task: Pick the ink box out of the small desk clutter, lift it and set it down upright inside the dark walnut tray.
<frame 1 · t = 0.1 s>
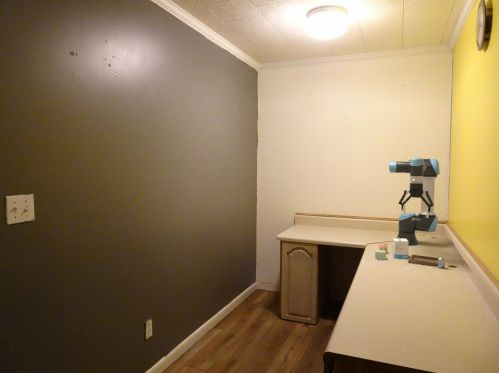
hand: (415, 216, 226), 28 cm above the worktop, fingers open, 13 cm apart
sage block: (380, 258, 231), on the worktop
terracotta cup: (383, 252, 246), on the worktop
tray: (424, 262, 223), on the worktop
ink box: (400, 257, 235), on the worktop
grey peg: (441, 267, 210), on the worktop
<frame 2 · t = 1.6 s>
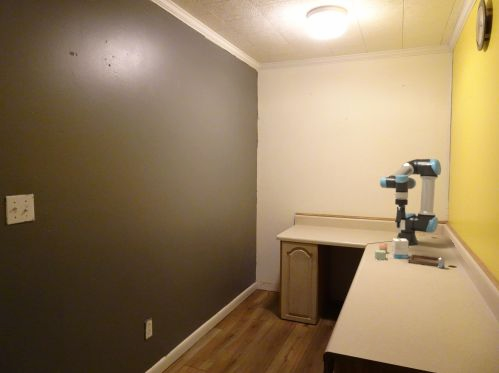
hand: (400, 231, 234), 17 cm above the worktop, fingers open, 13 cm apart
nothing on the worktop moved.
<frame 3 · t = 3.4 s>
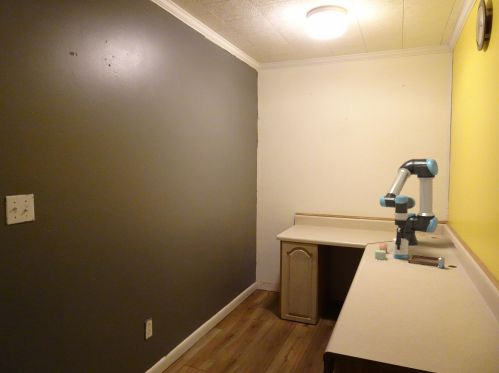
hand: (400, 252, 235), 3 cm above the worktop, fingers closed on ink box, 10 cm apart
ink box: (400, 257, 235), on the worktop, touching gripper
everything else where it was.
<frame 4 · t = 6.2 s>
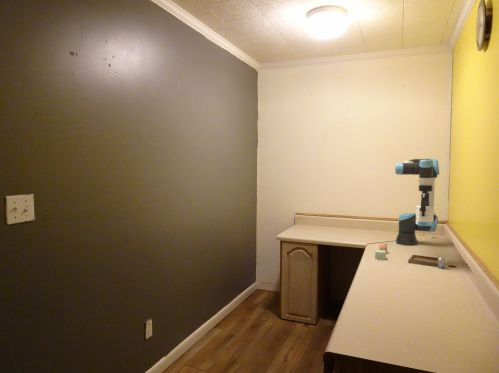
hand: (424, 220, 222), 26 cm above the worktop, fingers closed on ink box, 10 cm apart
ink box: (424, 225, 222), point 23 cm above the worktop, touching gripper
everything else where it was.
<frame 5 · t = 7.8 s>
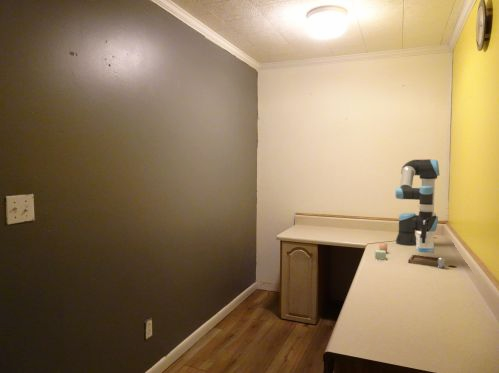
hand: (424, 246, 222), 10 cm above the worktop, fingers closed on ink box, 10 cm apart
ink box: (424, 251, 222), point 7 cm above the worktop, touching gripper
everything else where it was.
when the fingers open (5 cm above the worktop, at t = 9.1 s): ink box drops 2 cm, resting on tray.
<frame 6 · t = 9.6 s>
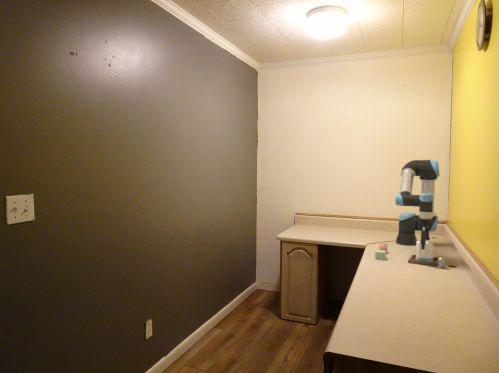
hand: (424, 252, 222), 6 cm above the worktop, fingers open, 13 cm apart
ink box: (424, 261, 223), resting on tray
everything else where it was.
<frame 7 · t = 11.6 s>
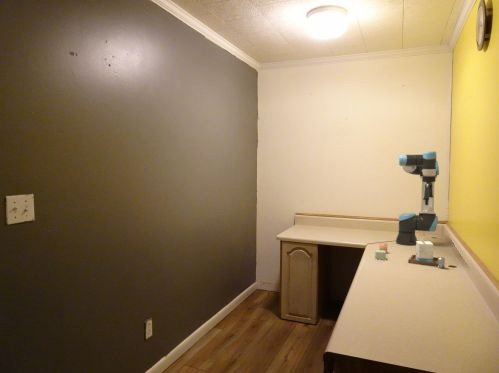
hand: (428, 208, 230), 32 cm above the worktop, fingers open, 13 cm apart
nothing on the worktop moved.
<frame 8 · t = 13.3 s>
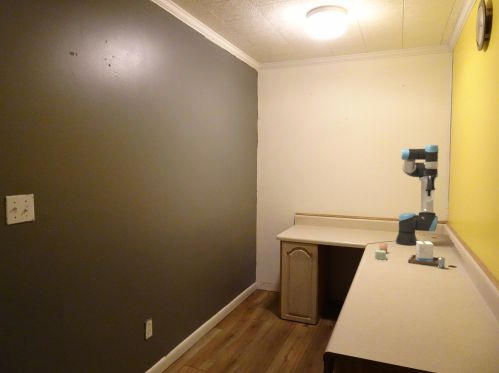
hand: (430, 200, 238), 37 cm above the worktop, fingers open, 13 cm apart
nothing on the worktop moved.
at the end: ink box inside the target area on the tray (0.4 cm from its centre), point 0.4 cm above the tray's base; ink box tilted 0°; the gripper is holding nothing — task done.
